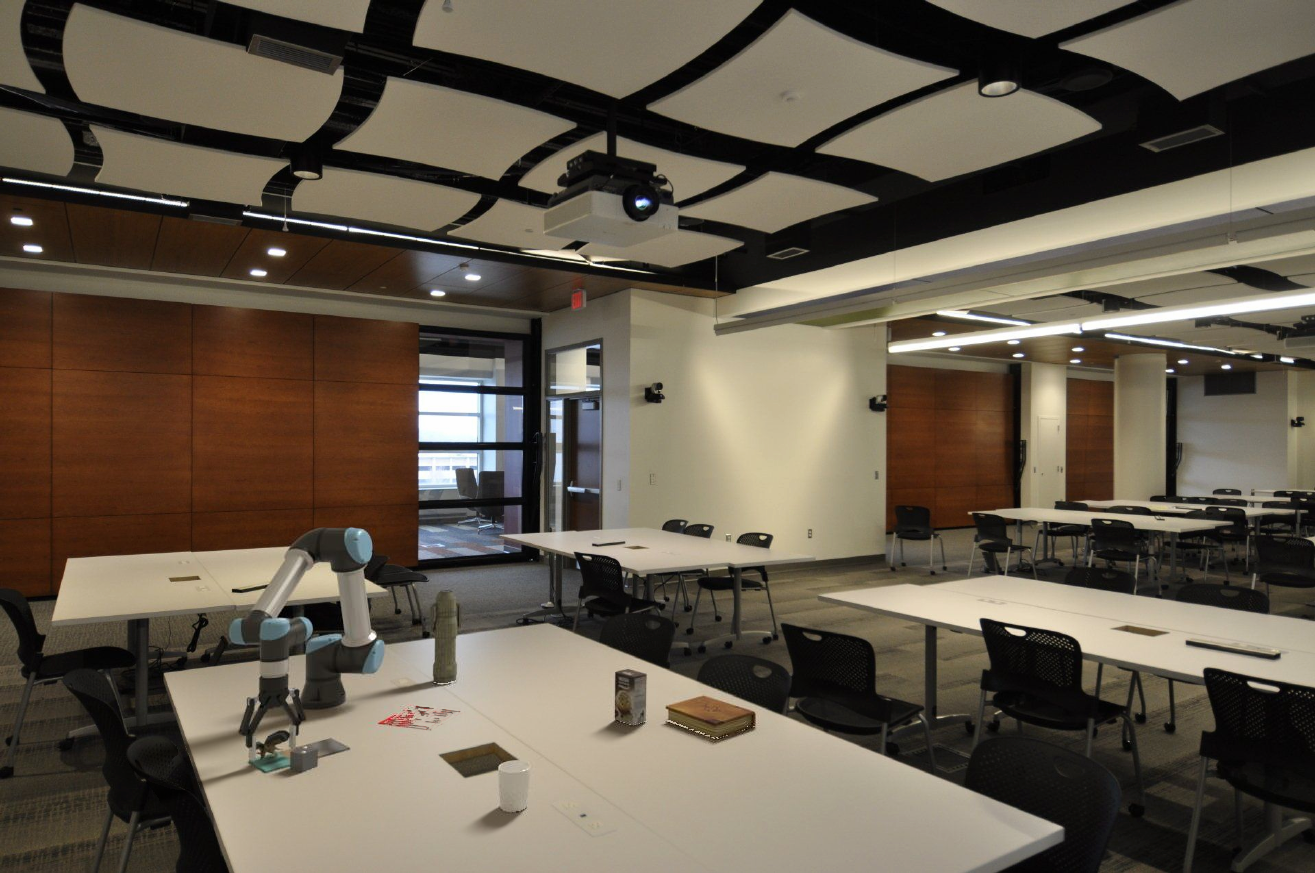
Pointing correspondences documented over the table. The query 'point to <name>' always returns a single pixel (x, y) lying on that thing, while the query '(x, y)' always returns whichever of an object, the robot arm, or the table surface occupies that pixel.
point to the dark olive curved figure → (272, 743)
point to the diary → (711, 716)
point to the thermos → (445, 636)
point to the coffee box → (630, 696)
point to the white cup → (514, 785)
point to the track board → (283, 758)
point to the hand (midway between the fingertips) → (272, 753)
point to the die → (303, 759)
